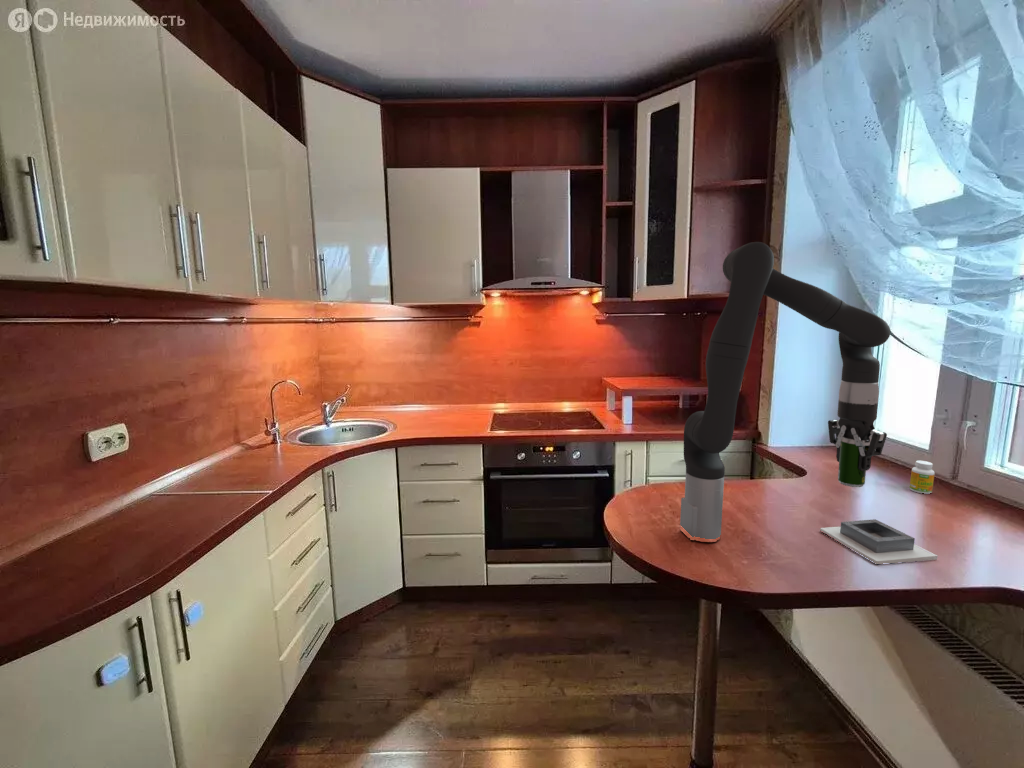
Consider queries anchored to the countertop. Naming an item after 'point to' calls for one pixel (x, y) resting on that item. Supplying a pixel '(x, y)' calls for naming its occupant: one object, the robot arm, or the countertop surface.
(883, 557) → the holder plate
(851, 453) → the beer can
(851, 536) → the can collar
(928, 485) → the supplement bottle
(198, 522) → the countertop surface
